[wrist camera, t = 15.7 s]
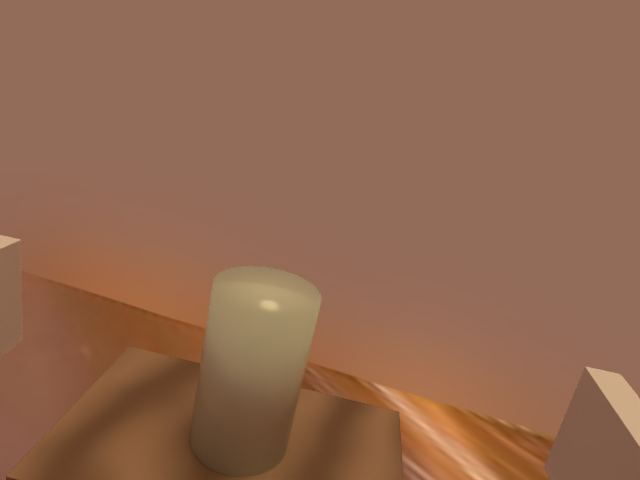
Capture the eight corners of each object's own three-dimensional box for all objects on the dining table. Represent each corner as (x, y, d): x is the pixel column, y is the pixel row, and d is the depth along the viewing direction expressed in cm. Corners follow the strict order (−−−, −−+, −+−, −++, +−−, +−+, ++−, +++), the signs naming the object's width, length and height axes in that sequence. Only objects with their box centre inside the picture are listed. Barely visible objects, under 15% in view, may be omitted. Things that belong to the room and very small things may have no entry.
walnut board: (394, 427, 40) (399, 411, 39) (401, 600, 26) (409, 580, 26) (127, 362, 41) (129, 346, 40) (5, 497, 27) (6, 476, 27)
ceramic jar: (294, 420, 36) (327, 281, 32) (275, 488, 30) (313, 327, 26) (208, 397, 36) (231, 257, 33) (172, 460, 30) (196, 297, 27)
